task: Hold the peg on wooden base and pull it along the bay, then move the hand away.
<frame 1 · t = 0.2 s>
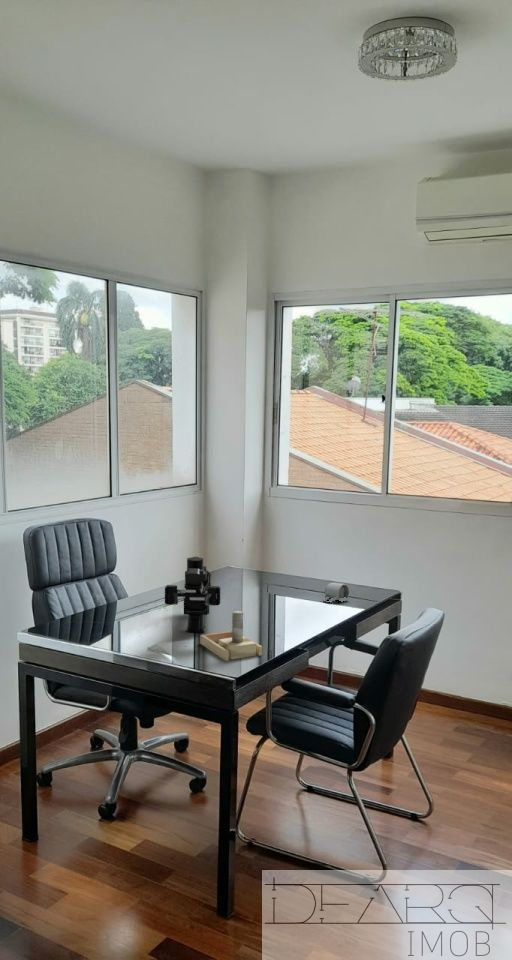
hand: (190, 602, 256), 17 cm above the table, tool horizontal, fingers open, 9 cm apart
peg on wooden base: (237, 633, 253), point 8 cm above the table, slide at 0.0 cm
bay: (230, 652, 258), on the table
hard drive: (169, 652, 259), on the table
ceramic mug: (334, 601, 330), on the table
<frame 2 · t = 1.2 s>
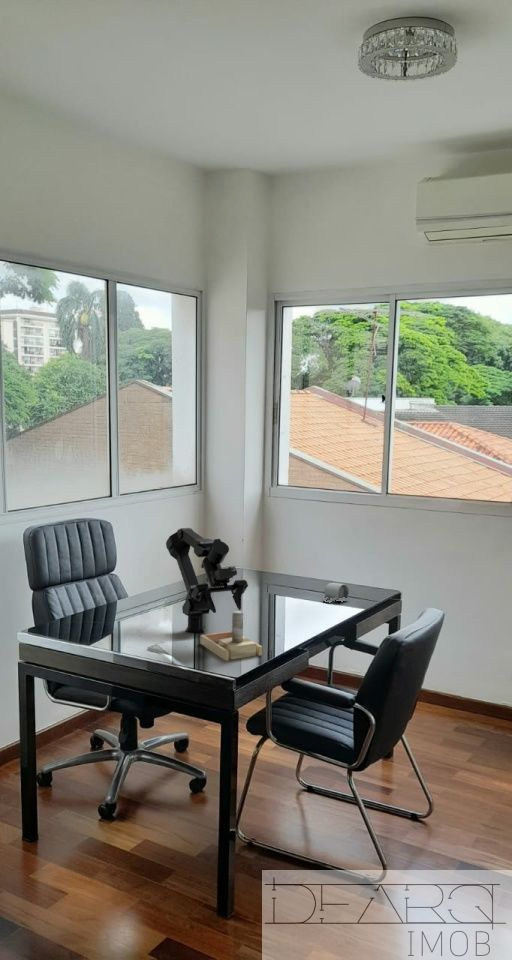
hand: (227, 610, 259), 13 cm above the table, tool tilted 45°, fingers open, 9 cm apart
nothing on the table moved.
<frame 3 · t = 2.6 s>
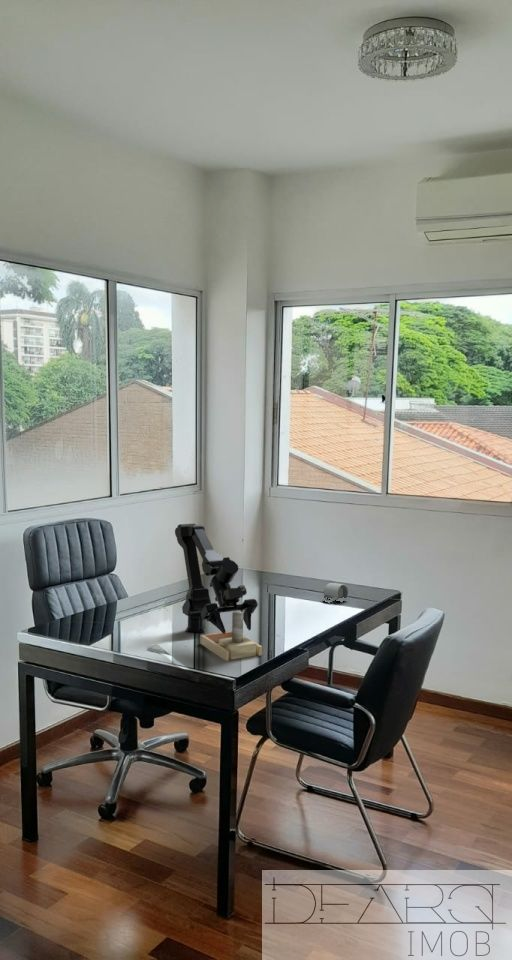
hand: (237, 631, 253), 8 cm above the table, tool tilted 45°, fingers open, 9 cm apart
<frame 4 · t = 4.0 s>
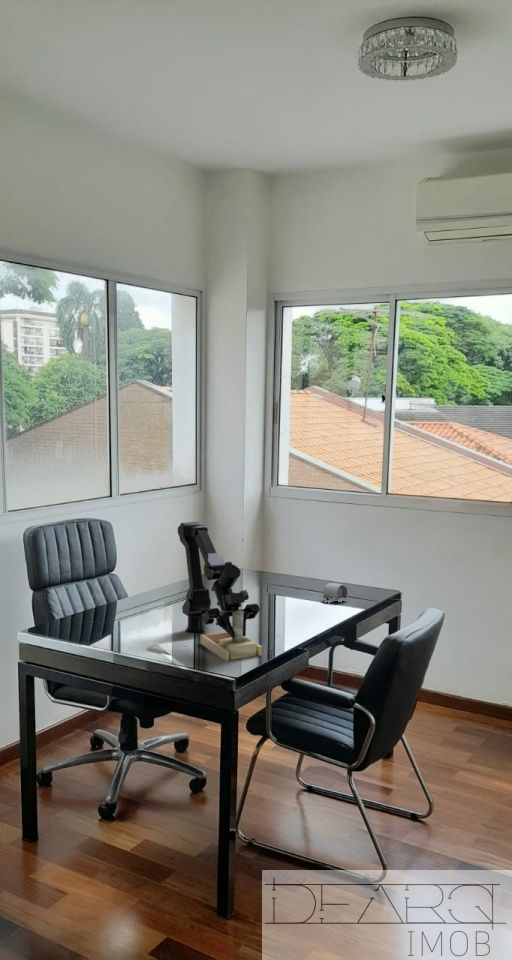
hand: (239, 636, 252), 7 cm above the table, tool tilted 45°, fingers closed on peg on wooden base, 3 cm apart
peg on wooden base: (237, 633, 253), point 8 cm above the table, slide at 0.0 cm, touching gripper
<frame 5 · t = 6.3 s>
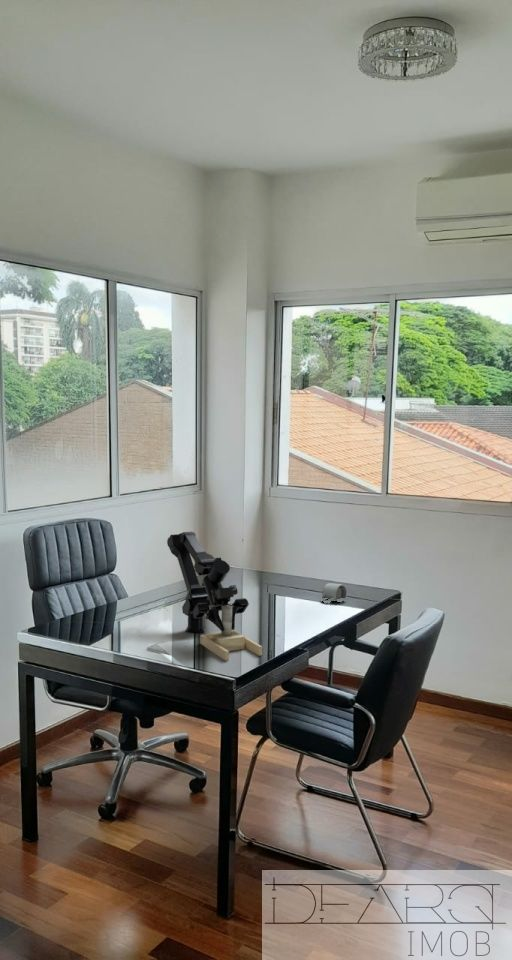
hand: (228, 630, 259), 7 cm above the table, tool tilted 45°, fingers closed on peg on wooden base, 3 cm apart
peg on wooden base: (226, 626, 260), point 8 cm above the table, slide at 7.9 cm, touching gripper
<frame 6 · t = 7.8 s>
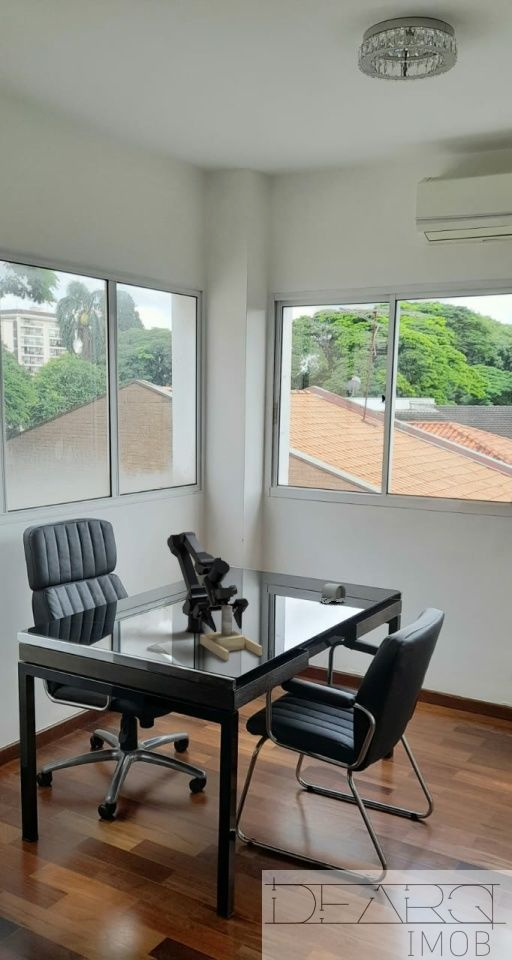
hand: (228, 630, 259), 7 cm above the table, tool tilted 45°, fingers open, 9 cm apart
peg on wooden base: (226, 626, 260), point 8 cm above the table, slide at 8.0 cm
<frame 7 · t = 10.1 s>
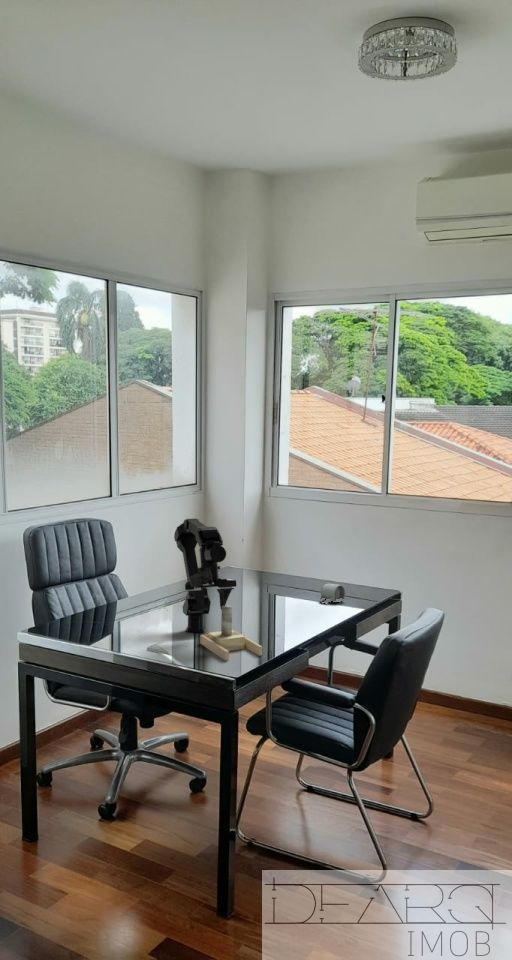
hand: (211, 610, 265), 12 cm above the table, tool pointing down, fingers open, 9 cm apart
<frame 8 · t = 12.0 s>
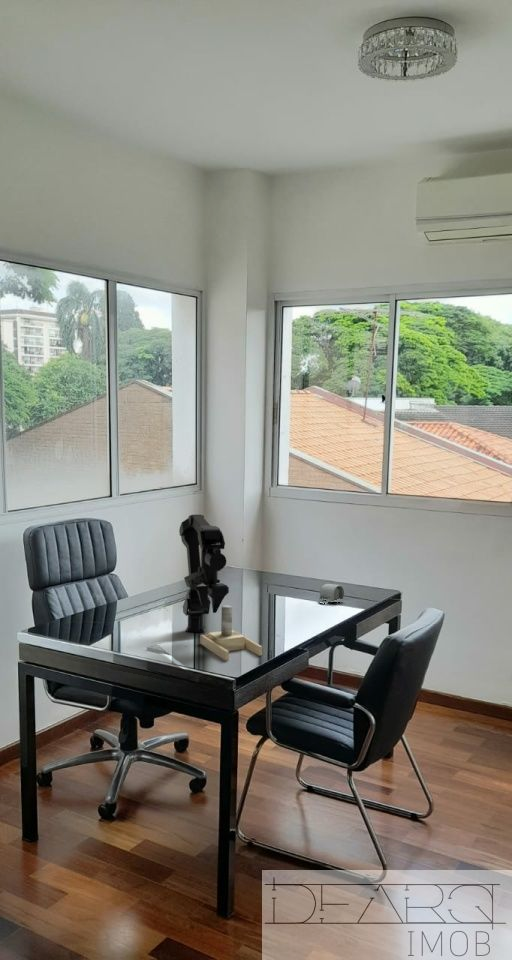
hand: (208, 609, 265), 12 cm above the table, tool pointing down, fingers open, 9 cm apart
at the end: peg on wooden base slide at 8.0 cm; the gripper is holding nothing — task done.
